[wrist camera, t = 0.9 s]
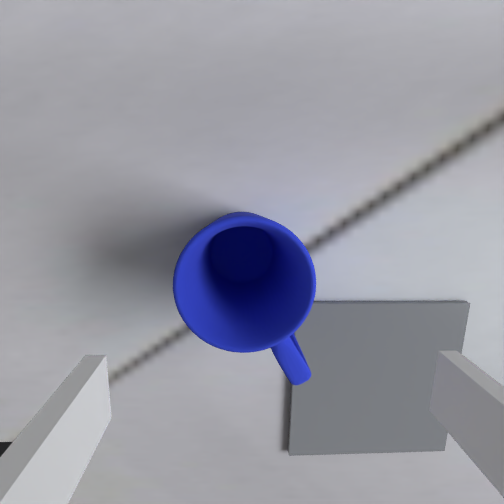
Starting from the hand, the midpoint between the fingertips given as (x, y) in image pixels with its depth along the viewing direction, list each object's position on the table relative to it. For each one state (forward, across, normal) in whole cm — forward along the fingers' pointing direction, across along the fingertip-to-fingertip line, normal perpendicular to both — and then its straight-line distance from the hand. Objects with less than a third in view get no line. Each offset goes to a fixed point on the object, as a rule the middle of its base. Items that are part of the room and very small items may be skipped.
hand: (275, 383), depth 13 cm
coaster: (+16, +12, -11) cm, 23 cm away
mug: (+16, 0, 0) cm, 17 cm away
